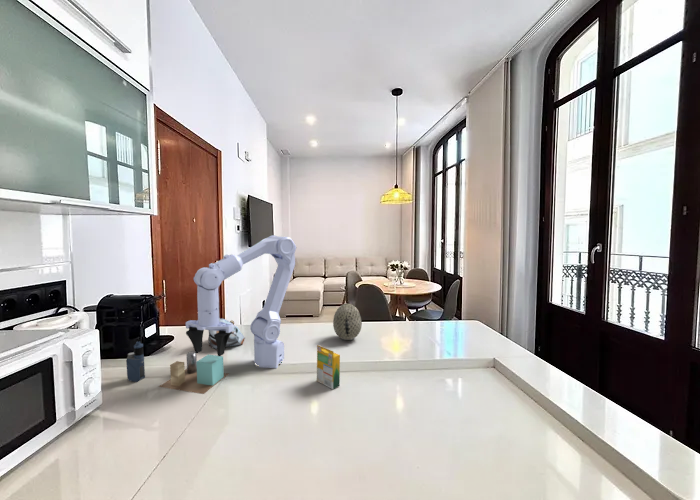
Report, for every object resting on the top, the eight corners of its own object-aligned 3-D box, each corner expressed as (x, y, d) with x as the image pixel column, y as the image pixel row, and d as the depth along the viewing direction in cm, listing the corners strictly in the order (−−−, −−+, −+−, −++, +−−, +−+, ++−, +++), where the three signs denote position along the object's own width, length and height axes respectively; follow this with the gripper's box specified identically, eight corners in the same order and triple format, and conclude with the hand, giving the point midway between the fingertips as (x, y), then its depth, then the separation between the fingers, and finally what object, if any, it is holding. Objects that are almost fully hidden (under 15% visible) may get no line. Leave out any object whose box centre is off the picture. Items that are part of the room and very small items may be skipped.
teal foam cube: (223, 377, 98) (223, 356, 98) (212, 385, 93) (212, 363, 93) (208, 374, 99) (208, 354, 99) (197, 383, 94) (196, 361, 94)
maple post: (185, 381, 95) (184, 362, 95) (178, 386, 93) (177, 366, 92) (177, 380, 96) (176, 361, 95) (170, 384, 93) (170, 365, 93)
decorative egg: (361, 345, 127) (362, 308, 125) (332, 344, 127) (332, 307, 126) (361, 334, 139) (361, 300, 137) (333, 333, 139) (334, 299, 137)
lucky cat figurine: (252, 341, 129) (248, 317, 121) (229, 362, 120) (223, 338, 112) (224, 325, 134) (220, 301, 127) (201, 345, 126) (194, 320, 118)
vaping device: (140, 382, 96) (138, 344, 95) (125, 380, 97) (123, 342, 96) (147, 378, 99) (145, 340, 97) (132, 376, 100) (130, 339, 98)
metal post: (198, 370, 102) (198, 352, 102) (192, 374, 100) (192, 355, 99) (191, 369, 103) (190, 351, 102) (185, 373, 100) (184, 354, 100)
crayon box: (340, 386, 96) (340, 348, 95) (332, 390, 94) (333, 351, 93) (323, 377, 101) (323, 341, 100) (316, 381, 99) (316, 344, 98)
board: (229, 376, 101) (229, 373, 100) (203, 397, 89) (203, 393, 89) (188, 370, 104) (188, 367, 104) (158, 389, 92) (158, 386, 92)
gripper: (177, 310, 92) (179, 356, 93) (221, 314, 89) (223, 362, 90) (194, 304, 99) (195, 346, 100) (236, 307, 95) (237, 351, 97)
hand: (209, 353), depth 95 cm, fingers open, 7 cm apart
